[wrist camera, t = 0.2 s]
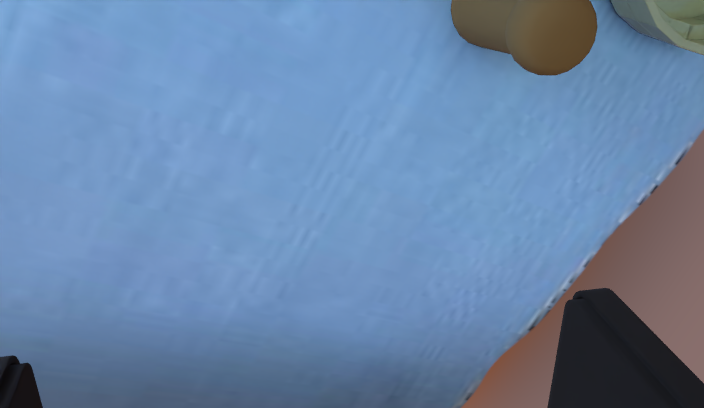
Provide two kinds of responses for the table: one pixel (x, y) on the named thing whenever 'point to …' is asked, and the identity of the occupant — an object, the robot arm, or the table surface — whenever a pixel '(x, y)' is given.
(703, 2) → the bowl
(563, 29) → the brown rounded tall piece
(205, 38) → the table surface
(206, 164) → the table surface
